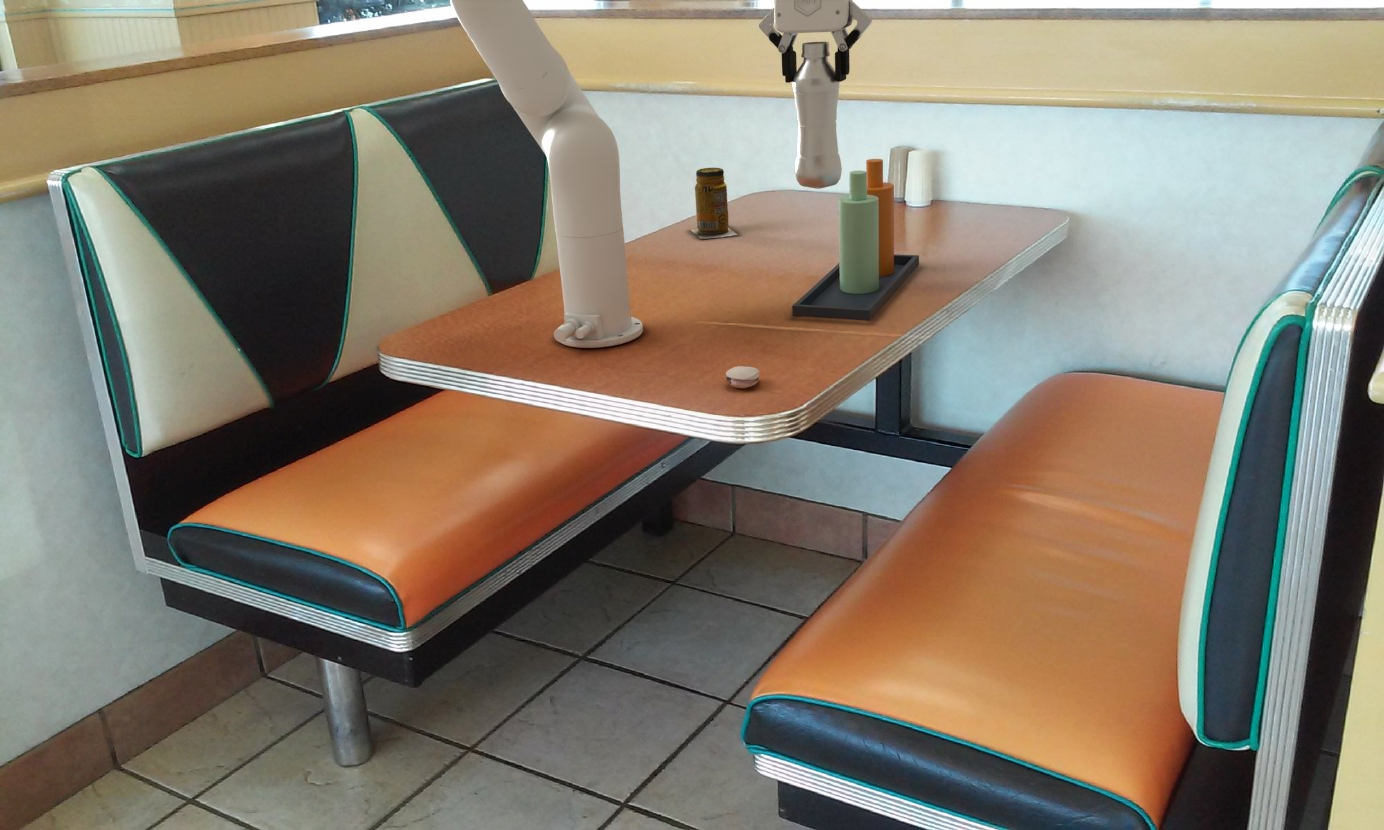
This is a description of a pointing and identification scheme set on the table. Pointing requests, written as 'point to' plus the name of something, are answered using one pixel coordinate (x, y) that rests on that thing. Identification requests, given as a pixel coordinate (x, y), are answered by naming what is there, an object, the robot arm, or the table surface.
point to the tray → (842, 305)
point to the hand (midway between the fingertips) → (815, 80)
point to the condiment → (711, 204)
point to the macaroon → (742, 376)
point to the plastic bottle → (816, 118)
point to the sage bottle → (858, 237)
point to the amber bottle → (882, 214)
